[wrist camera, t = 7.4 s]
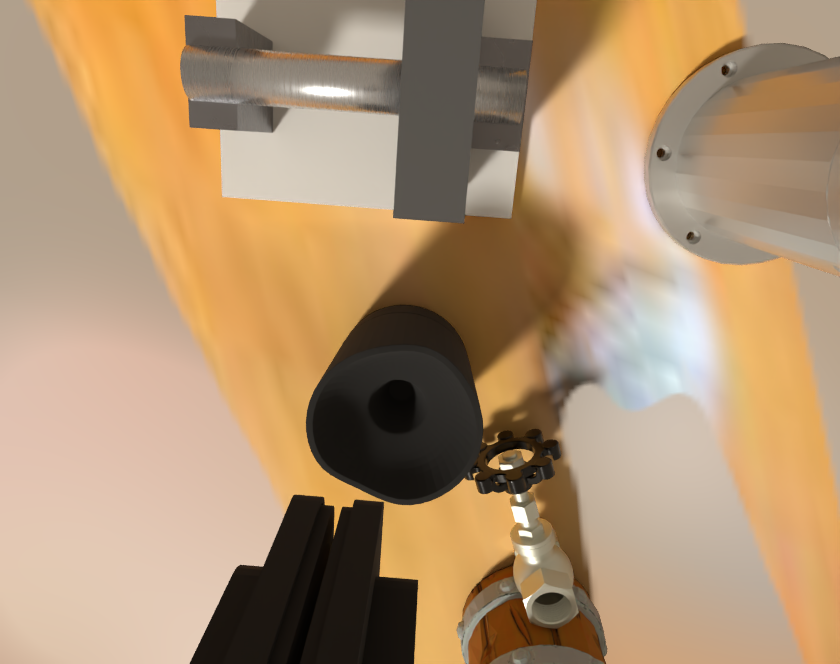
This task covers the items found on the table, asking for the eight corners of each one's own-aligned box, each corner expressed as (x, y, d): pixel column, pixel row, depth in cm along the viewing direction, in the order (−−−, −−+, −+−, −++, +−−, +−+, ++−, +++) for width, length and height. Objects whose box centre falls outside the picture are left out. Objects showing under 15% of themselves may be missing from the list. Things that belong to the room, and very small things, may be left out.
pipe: (515, 59, 34) (537, 35, 26) (505, 150, 35) (523, 152, 28) (230, 38, 34) (171, 8, 26) (233, 130, 36) (177, 126, 28)
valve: (584, 555, 45) (549, 418, 42) (607, 622, 39) (568, 467, 36) (500, 574, 46) (459, 441, 43) (510, 642, 40) (462, 493, 36)
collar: (475, -8, 32) (492, -81, 22) (457, 199, 35) (463, 223, 25) (420, -12, 32) (410, -87, 22) (407, 195, 35) (392, 217, 25)
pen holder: (368, 441, 43) (347, 526, 33) (315, 324, 40) (276, 381, 31) (491, 400, 42) (506, 477, 32) (445, 277, 39) (447, 321, 29)
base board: (536, -15, 34) (539, -20, 33) (509, 216, 38) (511, 218, 36) (221, -37, 34) (214, -43, 33) (227, 195, 38) (221, 196, 37)
